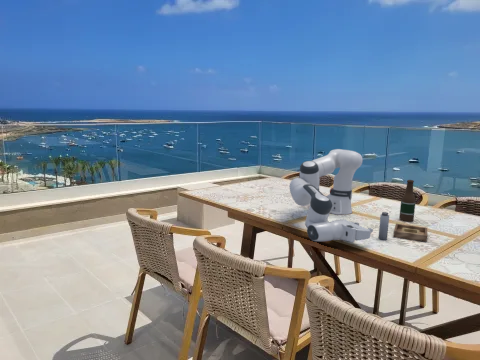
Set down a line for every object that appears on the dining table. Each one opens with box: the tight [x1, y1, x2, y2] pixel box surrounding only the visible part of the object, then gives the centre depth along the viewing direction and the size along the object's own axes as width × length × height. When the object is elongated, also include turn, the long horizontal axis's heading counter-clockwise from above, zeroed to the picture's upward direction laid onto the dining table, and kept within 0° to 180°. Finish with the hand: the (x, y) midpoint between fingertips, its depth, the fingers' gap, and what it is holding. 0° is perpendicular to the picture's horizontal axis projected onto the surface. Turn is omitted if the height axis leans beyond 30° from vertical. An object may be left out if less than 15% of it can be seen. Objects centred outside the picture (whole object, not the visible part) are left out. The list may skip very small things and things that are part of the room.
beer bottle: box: [398, 179, 417, 223], centre depth 211 cm, size 8×8×24 cm
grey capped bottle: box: [377, 211, 390, 241], centre depth 178 cm, size 4×4×13 cm
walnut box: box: [393, 223, 428, 243], centre depth 185 cm, size 15×15×3 cm
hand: (364, 227), depth 173 cm, fingers open, 8 cm apart
